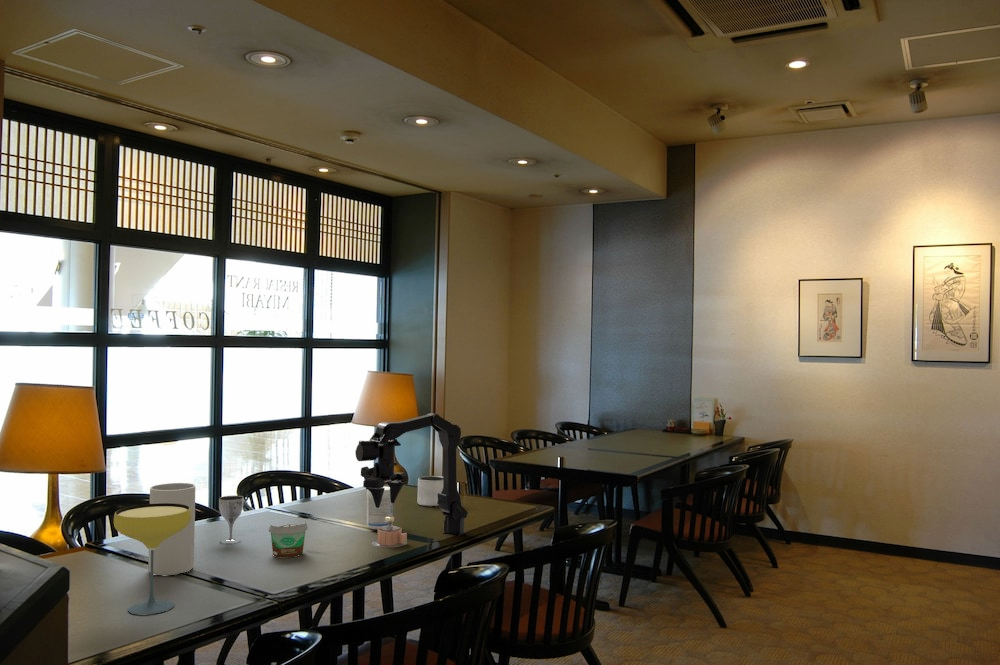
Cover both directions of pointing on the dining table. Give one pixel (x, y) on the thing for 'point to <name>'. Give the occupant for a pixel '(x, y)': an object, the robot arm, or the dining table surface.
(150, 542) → the cocktail glass
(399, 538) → the orange slatted barrel
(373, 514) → the supplement tub
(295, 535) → the food container
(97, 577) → the dining table surface
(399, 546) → the disc
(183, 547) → the cylinder vase
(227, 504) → the wine glass
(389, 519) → the plunger
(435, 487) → the planter
